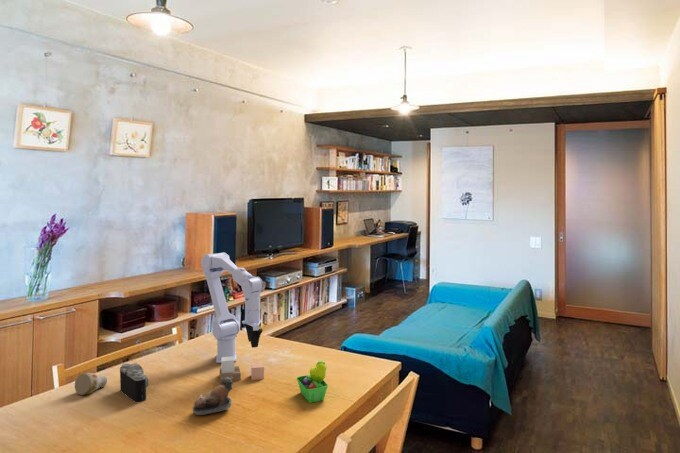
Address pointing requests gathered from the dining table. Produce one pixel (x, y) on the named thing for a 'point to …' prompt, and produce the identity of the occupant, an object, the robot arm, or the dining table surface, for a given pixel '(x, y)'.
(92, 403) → the dining table surface
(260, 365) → the terracotta block
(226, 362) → the grey block
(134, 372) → the camera
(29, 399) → the dining table surface
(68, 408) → the dining table surface
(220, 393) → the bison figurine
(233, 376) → the walnut base
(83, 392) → the grey stepped cylinder
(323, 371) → the fruit basket
